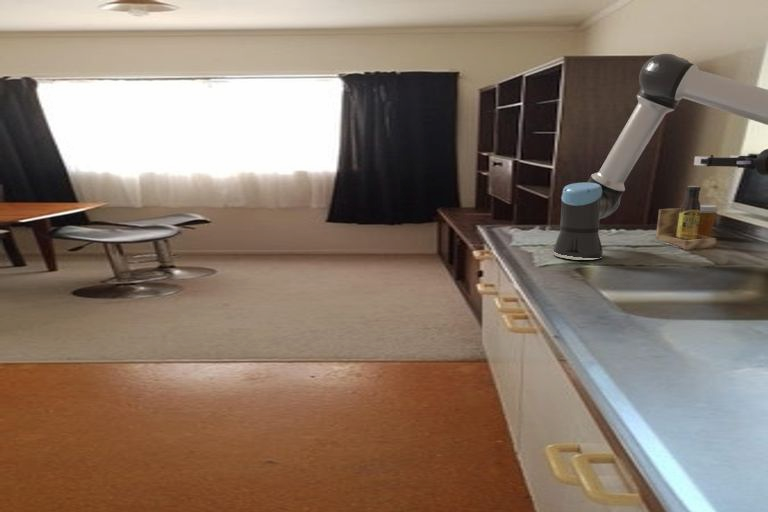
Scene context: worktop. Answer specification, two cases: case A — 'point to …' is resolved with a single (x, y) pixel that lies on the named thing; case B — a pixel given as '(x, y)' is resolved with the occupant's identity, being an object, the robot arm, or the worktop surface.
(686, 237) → the sauce bottle
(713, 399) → the worktop surface
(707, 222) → the glass of beer
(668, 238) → the open wooden box
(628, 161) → the robot arm
